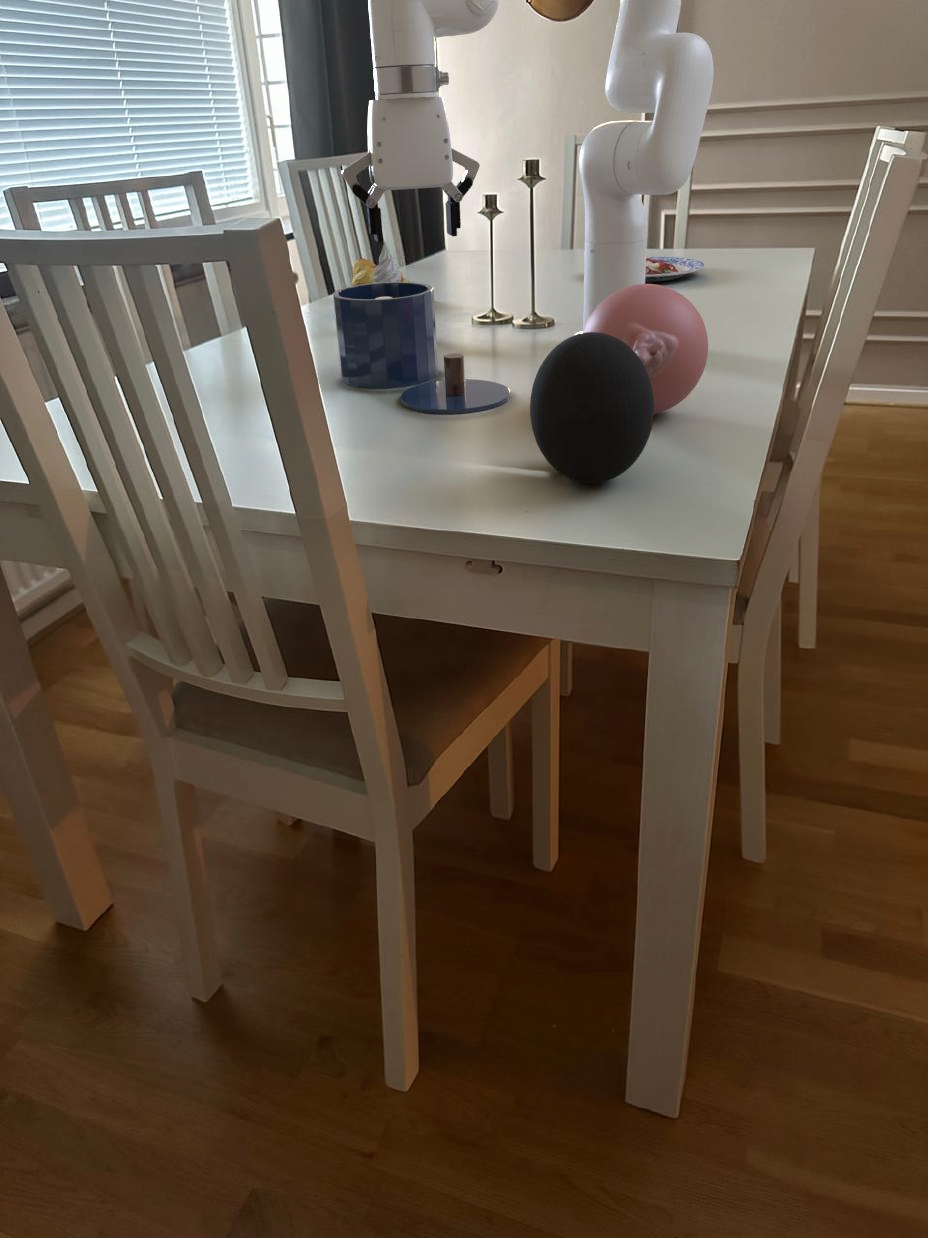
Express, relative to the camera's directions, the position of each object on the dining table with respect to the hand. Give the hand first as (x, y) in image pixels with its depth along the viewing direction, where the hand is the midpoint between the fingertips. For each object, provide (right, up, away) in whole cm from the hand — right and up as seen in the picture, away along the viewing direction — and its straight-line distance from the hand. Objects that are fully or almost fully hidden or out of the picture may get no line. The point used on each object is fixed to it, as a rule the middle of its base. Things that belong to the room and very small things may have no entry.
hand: (415, 237), depth 119 cm
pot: (-5, -14, +16) cm, 22 cm away
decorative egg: (+19, -35, -23) cm, 46 cm away
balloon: (+28, -25, -5) cm, 37 cm away
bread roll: (-11, +17, +72) cm, 75 cm away
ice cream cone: (-7, +2, +46) cm, 47 cm away
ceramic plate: (+46, +26, +84) cm, 100 cm away
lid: (+5, -20, +4) cm, 21 cm away
